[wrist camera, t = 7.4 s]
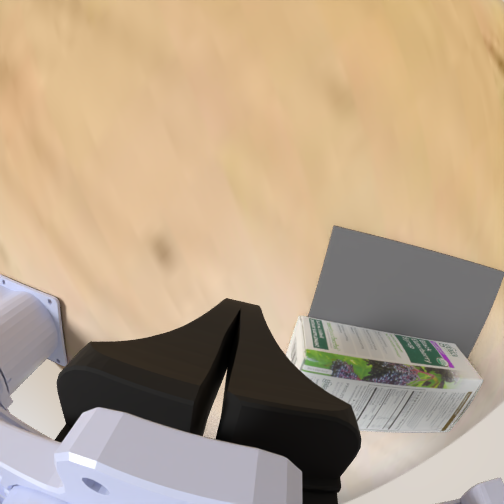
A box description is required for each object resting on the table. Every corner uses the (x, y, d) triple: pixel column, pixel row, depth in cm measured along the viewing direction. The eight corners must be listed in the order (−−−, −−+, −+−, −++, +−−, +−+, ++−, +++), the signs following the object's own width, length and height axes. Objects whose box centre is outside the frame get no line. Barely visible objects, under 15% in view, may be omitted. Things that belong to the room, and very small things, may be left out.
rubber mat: (284, 387, 25) (284, 390, 24) (333, 225, 20) (334, 226, 20) (439, 402, 24) (440, 404, 24) (503, 271, 20) (505, 272, 20)
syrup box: (298, 311, 22) (458, 339, 22) (279, 374, 24) (429, 392, 23) (302, 357, 17) (488, 377, 16) (276, 425, 18) (450, 434, 18)
